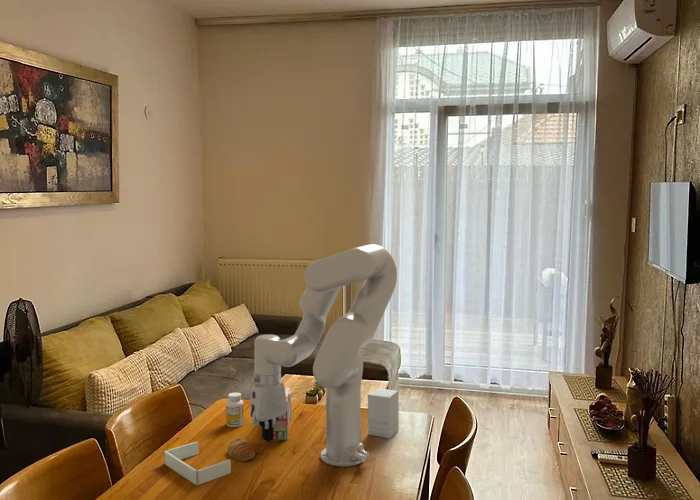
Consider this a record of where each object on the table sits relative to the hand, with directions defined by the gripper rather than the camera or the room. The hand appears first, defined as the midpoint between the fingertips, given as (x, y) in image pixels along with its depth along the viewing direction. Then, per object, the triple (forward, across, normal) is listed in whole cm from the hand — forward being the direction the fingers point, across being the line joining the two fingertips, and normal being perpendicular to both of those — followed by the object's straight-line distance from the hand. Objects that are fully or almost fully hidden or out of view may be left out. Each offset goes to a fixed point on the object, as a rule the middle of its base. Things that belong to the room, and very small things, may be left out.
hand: (267, 440), depth 182 cm
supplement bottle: (+2, +2, +21) cm, 21 cm away
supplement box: (+1, +31, -16) cm, 35 cm away
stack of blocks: (+2, +11, +9) cm, 14 cm away
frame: (+2, -23, 0) cm, 23 cm away
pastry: (+2, -9, 0) cm, 9 cm away
